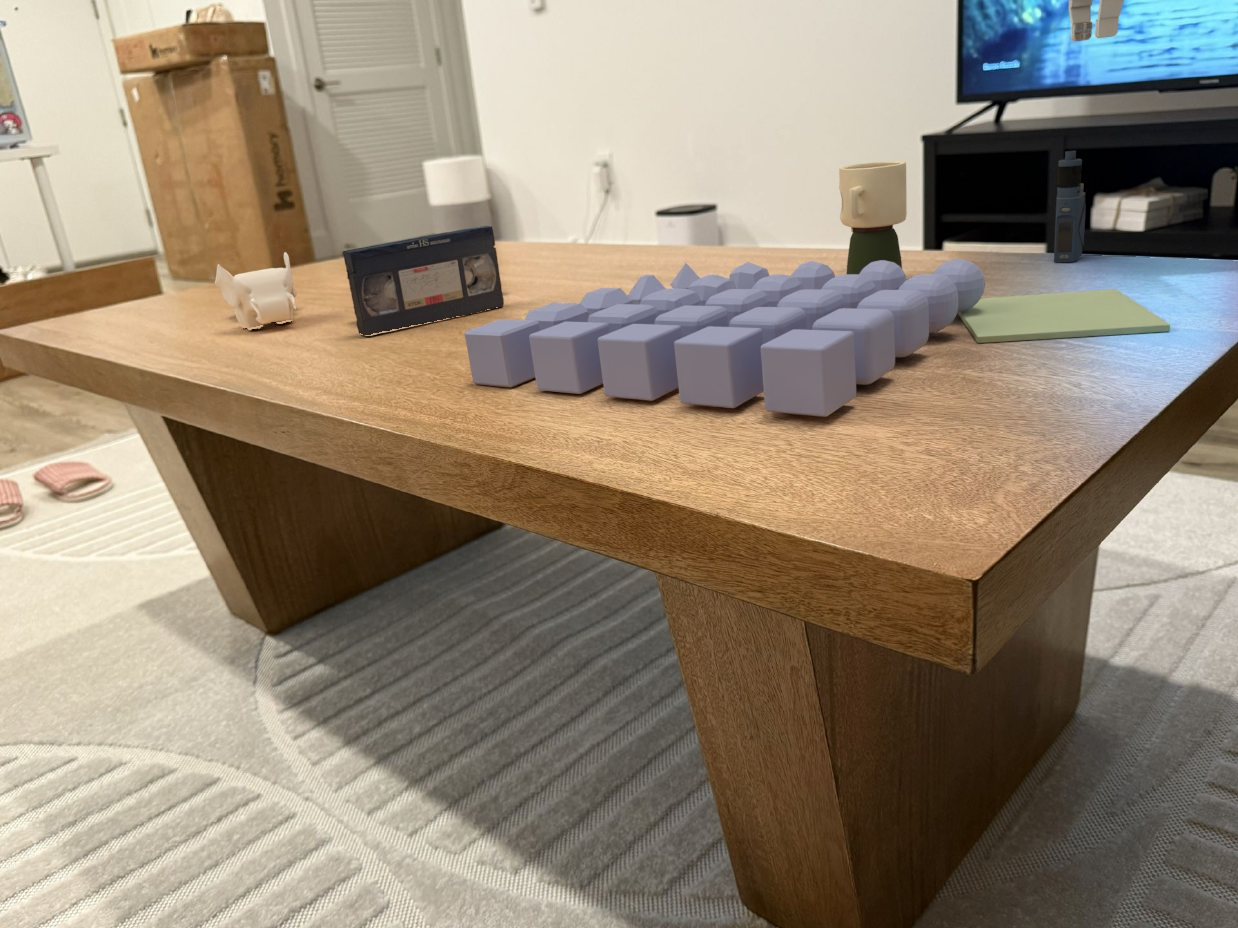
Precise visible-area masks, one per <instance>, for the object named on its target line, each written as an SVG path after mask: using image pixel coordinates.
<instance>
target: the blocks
mask: <svg viewBox="0 0 1238 928" xmlns="http://www.w3.org/2000/svg"><path fill="white" fill-rule="evenodd" d="M985 282H986V281H985V276H984V274H983V272H982V269H980V267H979V266H978V265H977V264H976V263H973V262H972V261H970V260H968V259H962V258H957V259H951V260H950V259H949V260H947V261H945V262H943V263H941V264H940V265H939V266H938V267H937V268H936V269H935V270H934V271H933V273H922V274H921V273H920V274H916V275H914V276H912V277H910V278H907V275H906V272H905V271H904V269H903V267H902V268H901V267H900V266H898V265H897V264H896V263H894V262H890V261H885V260H879V261H875V262H871V263H870V264H868V265H867V266H866V267H864V268H863V269H862V271H861V272H860V274H847V273H845V274H841V275H840V274H839V275H835V272H834V270H833V269H832V268H831V267H830V266H829V264H824V263H822V262H818V261H814V260H813V261H812V260H810V261H807V262H804V263H801V264H799V265H798V267H797V268H796V269H795V270H794V271H793V272H792V273H791V274H790V275H788V274H771V275H770V273H769V270H768V268H765V267H763V266H760V265H757V264H754V263H752V262H749V261H747V262H745V263H742V264H741V265H738V266H737V267H735V268H733V270H732V271H731V272H730V274H729V277H728V278H727V277H724V276H721V275H719V274H707V275H704V276H702V277H700V276H699V274H697V272H695V271H694V269H692V268H691V266H690V265H689V264H688V263H687V262H685V263H684V264H683V266H682V267H681V268H680V270H679V271H678V272H677V274H676V276H675V277H674V278H673V280H672V281H671V282H670V283H669V286H670V287H671V288H666V287H665V286H664V285H663V284H662V283H661V282H660V280H659V279H658V278H657V277H656V276H655V275H654V274H645V275H641V276H640V277H639V278H638V280H637V281H636V282H635V284H634V285H633V287H632V288H631V290H630V291H629V293H628V294H627V293H626V292H625V290H623V289H622V288H621V287H601V288H597V289H595V290H592V291H589V292H586V293H585V295H584V296H583V298H581V299H582V300H581V301H580V302H579V303H577V302H574V303H573V302H552V303H550V304H546V305H543V306H540V307H538V308H534V309H531V310H529V312H528V313H527V315H526V317H525V318H524V319H505V318H501V319H497V320H494V321H491V322H488V323H486V324H485V323H484V324H482V325H480V326H475V327H473V328H471V329H468V330H465V331H464V338H465V345H466V350H467V354H468V355H467V356H468V360H469V366H470V372H471V378H472V383H473V384H474V385H477V386H478V385H480V386H489V387H500V388H509V389H510V388H513V387H516V386H518V385H521V384H523V383H526V382H528V381H530V380H533V379H535V384H536V389H537V390H538V391H544V392H556V393H565V394H576V395H581V394H583V393H586V392H587V391H590V390H592V389H594V388H596V387H598V386H599V387H600V386H601V385H603V393H604V396H605V397H608V398H618V399H628V400H630V399H631V400H639V401H640V400H641V401H650V402H652V401H655V400H657V399H659V398H662V397H663V396H665V395H667V394H669V393H671V392H674V391H675V390H677V389H678V394H679V402H680V403H681V404H683V405H693V406H703V407H704V406H705V407H715V408H727V409H735V408H737V407H739V406H741V405H742V404H744V403H746V402H748V401H749V400H751V399H753V398H755V397H757V396H759V395H760V394H761V393H763V398H764V410H765V411H766V412H768V413H769V412H770V413H778V414H779V413H781V414H790V415H801V416H811V417H812V416H813V417H823V418H824V417H825V418H826V417H828V416H829V415H831V414H833V413H835V412H836V411H837V410H839V409H841V408H842V407H844V406H845V405H846V404H848V403H850V402H851V401H852V400H854V399H855V398H856V397H857V385H864V386H866V385H871V384H873V383H874V382H876V381H878V380H879V379H880V378H881V377H883V376H885V375H886V374H889V372H891V371H892V370H893V369H894V367H895V366H896V358H904V357H908V356H910V355H912V354H913V353H915V352H917V351H918V350H920V349H921V348H923V347H924V346H925V345H926V344H927V342H928V340H929V339H930V338H929V337H930V334H931V333H938V332H939V331H942V330H944V329H946V328H948V326H949V325H951V324H952V323H953V321H954V320H955V318H956V316H957V315H958V313H957V312H962V311H966V310H968V309H970V308H972V307H974V306H975V305H976V304H977V303H978V302H979V300H980V298H982V297H983V295H984V293H985V288H986V287H985V286H986V283H985Z"/></svg>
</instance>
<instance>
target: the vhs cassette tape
mask: <svg viewBox="0 0 1238 928" xmlns="http://www.w3.org/2000/svg"><path fill="white" fill-rule="evenodd" d="M493 229H494V228H493V226H492V225H491V226H490V225H481V226H475V227H470V228H464V229H463V228H462V229H458V230H451V231H447V232H440V233H434V234H430V235H423V236H422V235H421V236H418V237H413V238H407V239H401V240H397V241H391V242H385V243H379V244H375V245H374V244H373V245H369V246H363V247H358V248H353V249H347V250H343V251H342V255H343V260H344V266H345V268H346V269H345V271H346V274H347V280H348V284H349V290H350V295H351V299H352V304H353V305H352V306H353V310H354V316H355V318H356V319H355V320H356V327H357V330H358V333H359V334H360V333H361V334H363V335H371V334H373V333H379V332H382V331H390V330H392V329H399V328H402V327H409V326H411V325H418V324H424V323H427V322H434V321H437V320H443V319H446V318H452V317H456V316H462V315H467V316H469V315H468V314H471V313H476V314H478V313H477V312H480V311H485V310H487V309H493V310H495V309H494V308H496V307H502V306H503V307H504V305H505V300H504V292H503V289H502V282H501V275H500V267H499V261H498V253H497V248H496V247H495V246H496V240H495V238H496V237H495V235H494V230H493ZM503 307H502V308H503ZM485 312H486V311H485ZM480 313H481V312H480Z"/></svg>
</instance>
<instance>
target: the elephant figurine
mask: <svg viewBox="0 0 1238 928" xmlns="http://www.w3.org/2000/svg"><path fill="white" fill-rule="evenodd" d="M283 260H284V265H285V267H271V268H264V269H258V270H253V271H248V272H241V273H238V274H235V275H234V276H233V274H231V273H230V272H229V271H228V270H227V269H226V268H224V267H223V266H221V264H220V263H217V265H216V273H215V280H214V285H215V287H217V288H218V289H219V290H220V291H221V294H222V298H223V300H224V301H225V302H226V303H227V304H228V305H229V306H232V307H233V312H234V315H235V318H236V320H237V322H238V324H239V326H240V325H244V326H245V327H246V328H251V327H256V326H260V325H266V324H272V323H271V322H282V321H286V320H293V321H294V310H297V307H296V305H297V304H296V301H295V298H296V297H297V296H298V293H297V289H296V286H295V283H294V281H293V274H292V268H291V264H290V257H289V254H288V253H287V252H286V251H284V252H283Z"/></svg>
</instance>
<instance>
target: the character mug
mask: <svg viewBox="0 0 1238 928" xmlns="http://www.w3.org/2000/svg"><path fill="white" fill-rule="evenodd" d="M838 170H839V171H838V172H839V174H838V175H839V176H838V177H839V178H838V179H839V183H838V190H839V193H840V197H841V210H840V215H839V219H840V222H841V223H842V225H844V226H846V227H849V228H851V229H850V230H851V233H852V234H851V236H850V238H849V245H848V254H847V260H846V261H847V262H846V274H860V272H861V271H862V269H863V268H864V267H866V266H867V265H868V264H870V263H871V262H875V261H879V260H885V261H890V262H894V263H896V264H897V265H898V266H900V267H901V268H902V269H903V262H902V255H901V249H900V248H901V247H900V244H899V243H900V241H899V236H898V233H897V231H896V230H895V228H894V226H895V225H899V224H901V223H904V222H905V221H906V220H907V162H905V161H902V160H901V161H899V160H896V161H895V160H887V161H875V162H866V163H857V164H850V165H845V166H841V167H839V169H838Z"/></svg>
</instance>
